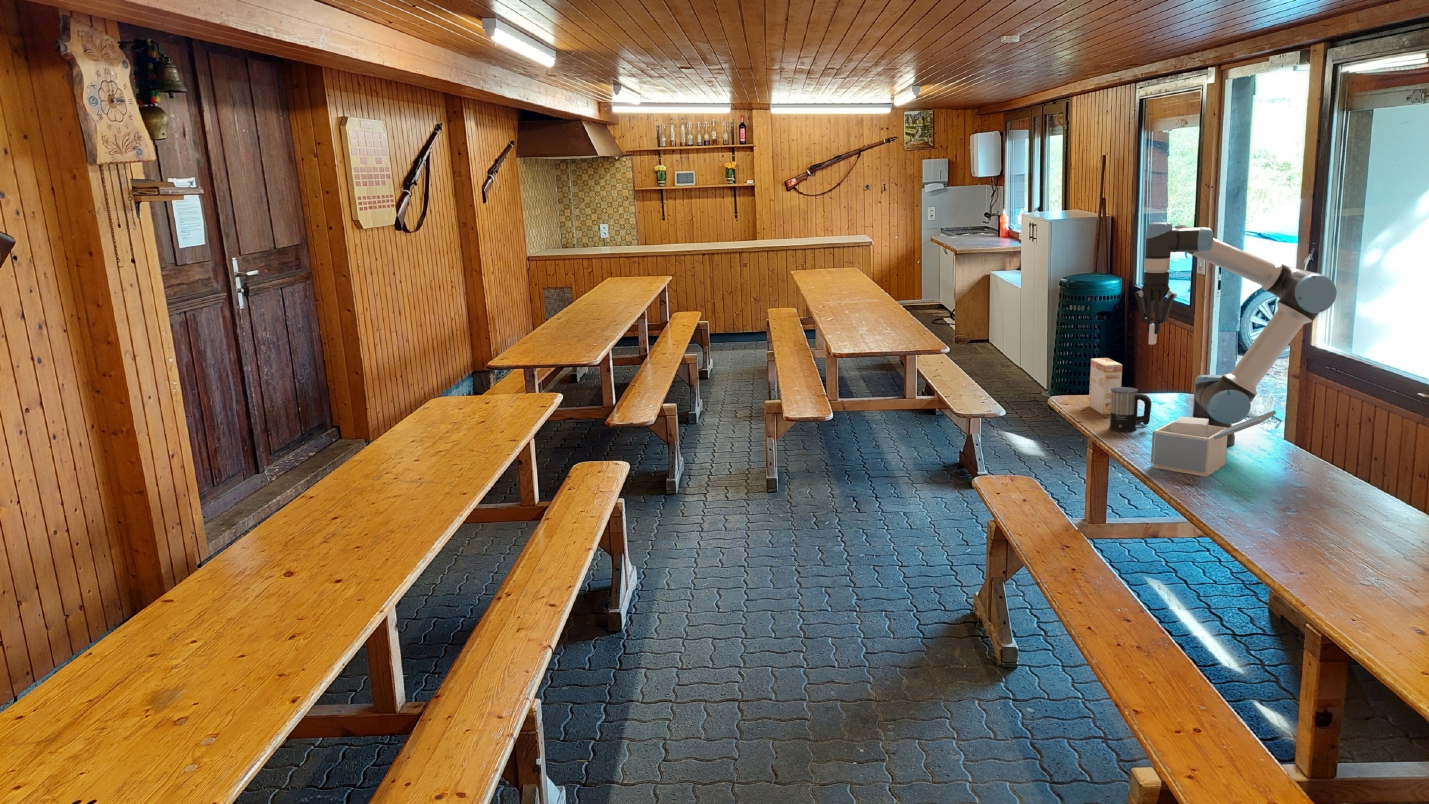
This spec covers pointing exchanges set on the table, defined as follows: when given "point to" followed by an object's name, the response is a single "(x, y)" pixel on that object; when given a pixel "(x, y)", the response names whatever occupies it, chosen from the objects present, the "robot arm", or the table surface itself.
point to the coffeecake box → (1103, 383)
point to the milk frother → (1127, 409)
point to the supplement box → (1192, 426)
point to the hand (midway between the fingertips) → (1152, 343)
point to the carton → (1188, 450)
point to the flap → (1245, 425)
